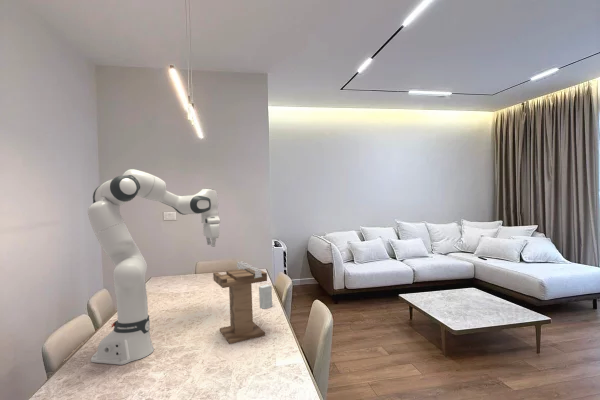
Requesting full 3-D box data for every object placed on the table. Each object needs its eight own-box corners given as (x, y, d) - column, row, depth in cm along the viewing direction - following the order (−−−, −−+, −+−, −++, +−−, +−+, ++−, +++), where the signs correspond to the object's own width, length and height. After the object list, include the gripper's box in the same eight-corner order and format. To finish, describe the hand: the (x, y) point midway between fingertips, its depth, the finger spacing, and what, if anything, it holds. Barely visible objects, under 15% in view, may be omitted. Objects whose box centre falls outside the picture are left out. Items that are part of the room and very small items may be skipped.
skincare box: (267, 305, 192) (267, 284, 192) (272, 306, 189) (271, 285, 189) (259, 307, 188) (258, 286, 188) (264, 309, 185) (263, 287, 184)
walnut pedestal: (215, 332, 155) (213, 272, 155) (256, 323, 164) (254, 267, 164) (224, 345, 141) (222, 279, 141) (269, 334, 150) (266, 273, 150)
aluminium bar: (237, 267, 170) (237, 261, 170) (242, 267, 172) (242, 261, 172) (255, 277, 147) (254, 271, 147) (261, 276, 149) (261, 270, 149)
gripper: (199, 219, 185) (200, 244, 185) (208, 220, 166) (209, 248, 167) (211, 218, 187) (212, 243, 188) (221, 219, 169) (222, 247, 169)
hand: (211, 245), depth 177 cm, fingers open, 8 cm apart
